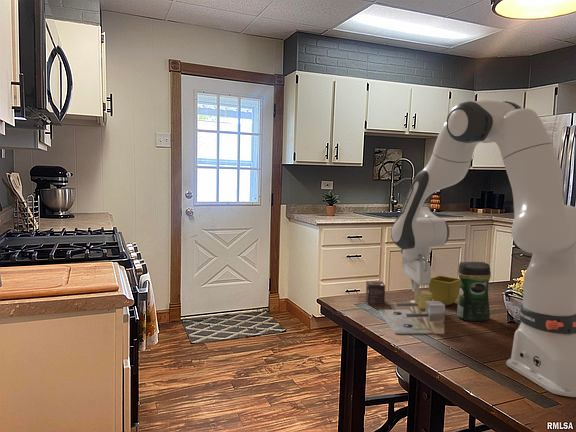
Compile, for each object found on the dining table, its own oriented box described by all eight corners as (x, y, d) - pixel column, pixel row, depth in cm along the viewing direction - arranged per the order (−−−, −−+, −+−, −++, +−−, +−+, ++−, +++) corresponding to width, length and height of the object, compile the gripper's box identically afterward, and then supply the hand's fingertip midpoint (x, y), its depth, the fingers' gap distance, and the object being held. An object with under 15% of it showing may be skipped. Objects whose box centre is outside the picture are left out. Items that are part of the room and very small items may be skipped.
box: (365, 300, 161) (366, 280, 161) (382, 300, 161) (382, 281, 160) (368, 304, 155) (368, 284, 155) (384, 305, 155) (385, 285, 154)
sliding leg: (431, 309, 139) (432, 294, 139) (398, 309, 139) (399, 294, 138) (427, 305, 143) (428, 290, 143) (395, 305, 143) (395, 291, 142)
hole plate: (428, 333, 126) (429, 330, 126) (394, 333, 126) (395, 330, 126) (409, 312, 146) (409, 309, 146) (379, 312, 146) (379, 309, 146)
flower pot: (426, 302, 158) (427, 278, 157) (438, 298, 164) (439, 275, 163) (449, 308, 151) (450, 283, 151) (461, 303, 157) (462, 279, 156)
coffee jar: (482, 314, 144) (485, 259, 143) (492, 322, 136) (495, 264, 135) (453, 314, 145) (455, 259, 143) (461, 321, 137) (463, 264, 135)
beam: (446, 333, 126) (447, 307, 126) (410, 333, 126) (410, 307, 126) (420, 308, 150) (421, 286, 150) (390, 308, 150) (390, 286, 150)
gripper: (435, 257, 138) (434, 300, 139) (416, 247, 159) (415, 284, 160) (416, 257, 138) (415, 300, 139) (399, 247, 158) (398, 284, 160)
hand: (415, 291), depth 150 cm, fingers closed
